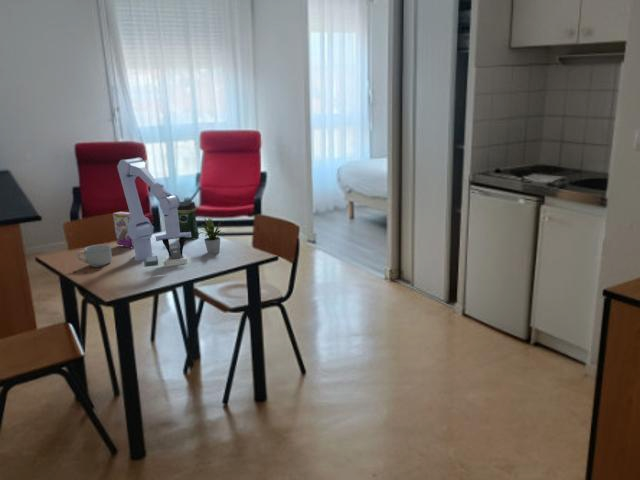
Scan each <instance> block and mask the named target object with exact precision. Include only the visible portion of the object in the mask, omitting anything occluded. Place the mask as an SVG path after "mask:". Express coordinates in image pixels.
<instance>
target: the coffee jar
mask: <svg viewBox="0 0 640 480" xmlns="http://www.w3.org/2000/svg"><path fill="white" fill-rule="evenodd" d="M177 210H178V219H179V228H180V233H183V232H191V237H190V238H189V237H186V238H185V241H187V240H189V241H190V240H194V239H198V238H199V236H200V234H199V233H200V232H199V228H198V225H197V224H198V221H197V218H196V217H197V216H196V212H197V207H196V203H195V202H194V201H180V205H179V207H178V208H177ZM198 234H199V235H198Z"/></svg>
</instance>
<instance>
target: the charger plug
mask: <svg viewBox="0 0 640 480" xmlns="http://www.w3.org/2000/svg"><path fill="white" fill-rule="evenodd" d="M169 247H170V253H171V260H173V259H181V253H180V245H175V246H173V245H172V246H169Z"/></svg>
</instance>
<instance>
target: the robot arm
mask: <svg viewBox="0 0 640 480" xmlns="http://www.w3.org/2000/svg"><path fill="white" fill-rule="evenodd" d="M116 168H117V172H118V174H119V175H118V176H119V179H120V183H121V186H122V189H123V193H124V196H125V199H126V200H125V201H126V203H127V207H128V210H129V211H128V213H130V216H131V220H130V221H129V223H128V224H127V225H128V235H129V237H130V238H131V239H132V240H133V241H134V248H133V249H134V261H145V257H151V256H154V253H153V249H152V240H151V239H152V235H154V226H153V224H152V223H151V221H150V219H149V218H148V217H146V216H145V215H144V211H143V208H142V204H141V200H140V197H139V193H138V189H137V185H136V179H137V177H139V178H140V179H141V180H143V182H144V183H145V184H146V185H147V186H148V187H149V188H150V189H149V190H150V192H151V194H152V195H153V197H154V198H156V200H157V201H158V202H159V203H158V204H159V208H160V209H161V212H162V214H163V219H164V220H163V221H164V228H165V234H161V235H154V237H155V242H160V241H161V242H162V243H163V245H164V247H165V249H166V250H167V253H168V256H169V257H171V253H170V247H171V246H170V240H176V239H178V242H179V243H178V244H179V246H180V253H181V255H182V254H183V249H184V246H185V243H186V240H185V238H186V237H189V238H190V237H191V232H183V233H180V228H179V219H178V210H177V208H178V207H179V205H180V202H181V201H180V198H179V197H178V195H176V194H174V193H171V192H170V191H169V190H168V189H167V188H166V186H165V185H164V184H163V183H162V182H157V180H156V179H155V178H154V177H153V175H152V174H151V172H150V171H149V169H148V168H147V163H146V162H145V161H144V160H143V158H141V157H138V156H137V157H133V158H128V159H120V160H119V162H118V163H117V166H116Z"/></svg>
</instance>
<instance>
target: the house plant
mask: <svg viewBox="0 0 640 480" xmlns="http://www.w3.org/2000/svg"><path fill="white" fill-rule="evenodd" d="M202 219H203V220H204V222H205V224H206V225H204V224H202V228H204V232H201V231H199V230H198V232H199V234H198V235H199V236H200V234H203V235H204V236H205V237H206V238H204V239H203V240H204V243H205V248H206V251H207V253H208V254H211V255H212V254H213V255H214V254H219V253H220V250H221V247H220V246H221V237H220V234H223V233H225V232H224V231H222V230H220V224H221V223H223V222H225V221H222V220H220V221H219V223H218V224H217V226H216V228H215V225H214V220H213V219H212V218H210V217H208V220H207V219H206V218H205V217H202ZM221 221H222V222H221ZM221 231H222V232H221Z"/></svg>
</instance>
